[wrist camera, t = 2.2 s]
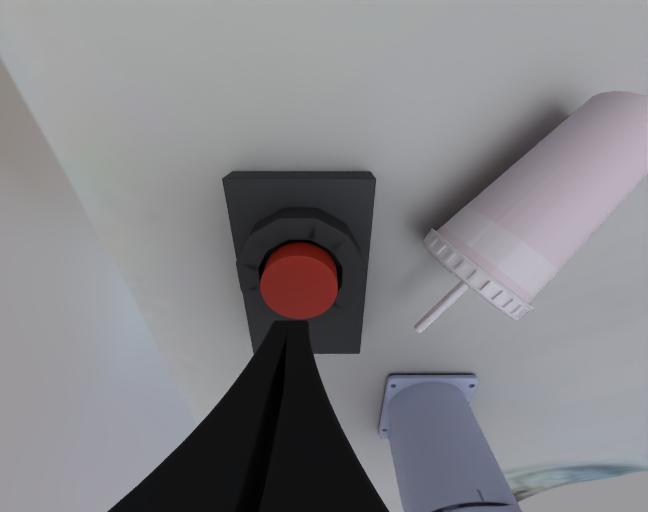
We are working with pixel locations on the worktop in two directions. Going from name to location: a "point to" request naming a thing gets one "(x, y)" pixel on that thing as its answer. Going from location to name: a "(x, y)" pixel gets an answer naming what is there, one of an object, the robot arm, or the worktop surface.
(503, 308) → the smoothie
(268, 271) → the power button
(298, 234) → the black base plate
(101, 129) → the worktop surface
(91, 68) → the worktop surface
